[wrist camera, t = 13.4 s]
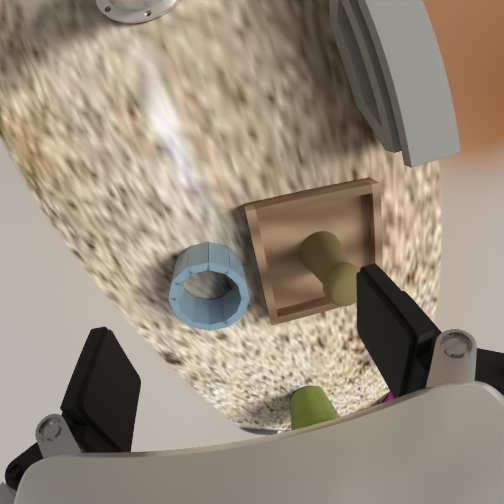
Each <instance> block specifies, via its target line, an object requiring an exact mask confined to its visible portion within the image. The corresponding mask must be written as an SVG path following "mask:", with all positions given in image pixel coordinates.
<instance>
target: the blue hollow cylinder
mask: <svg viewBox="0 0 504 504" xmlns="http://www.w3.org/2000/svg"><path fill="white" fill-rule="evenodd" d="M207 270H210V271H214V272H219V273H223V274H226V275H227V276H228V277H230V278H231V279H232V280H233V281H234V282H235V285H234V288H233V289H232V290H230V291H229V292H228V293H227V294H226V295H225V296H223V297H219V298H215V299H211V300H208V299H203V298H199V297H195V296H194V295H192V294H191V293H190V292H189V291H188V290H186V289H185V288H184V285H183V283H182V282H183V281H184V280H186V279H187V278H188V277H189V276H190V275H191V274H194V273H199V272H203V271H207ZM168 300H169V302H170V305H171V307H172V310H173V312H174V314H175V316H176V317H178V318H179V319H180V320H182V321H183V322H184V323H186V324H187V325H188V326H190V327H193V328H198V329H203V330H208V331H209V330H210V331H211V330H216V329H220V328H225V327H229V326H230V325H232V324H233V323H234V322H235V321H237V320H238V319H239V318H241V317H242V316H243V315H244V313H245V310H246V308H247V305H248V302H249V300H250V297H249V292H248V287H247V282H246V277H245V273H244V269H243V265H242V261H241V259H240V258H239V257H238V256H237V255H236V254H235V253H234V252H233V251H232V250H231V249H230V248H229V247H227V246H223V245H219V244H215V243H211V242H207V243H203V244H199V245H195V246H190V247H189V248H188V249H187V250H186V251H185V252H184V253H183V254H181V255H180V256H179V257H178V258H177V260H176V264H175V268H174V272H173V277H172V282H171V287H170V292H169V297H168Z"/></svg>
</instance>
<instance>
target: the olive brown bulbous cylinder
mask: <svg viewBox="0 0 504 504" xmlns="http://www.w3.org/2000/svg"><path fill="white" fill-rule="evenodd" d="M300 257H301V260H302V262H303V264H304V265H305V266H306V267H307V268H308V269H309V270H310V271H311V272H312V273H313V274H314V275H315V276H316V277H317V279H318V280H319V281H320V282H321V283H322V284H323V292H324V294H325V296H326V298H327V299H328V300H329V301H330V302H331V303H333V304H334V305H338V306H348V305H352V304H353V303H355V302H357V287H356V274H357V272H360V268H359V267H358V266H356V265H354V264H352V263H350V261H349V259H348V257H347V255H346V253H345V251H344V249H343V247H342V245H341V244H340V242H339V240H338V238H337V237H336V236H335V235H334V234H333V233H330V232H328V231H319V232H315V233H313V234H311V235H309V236H308V237H307V238H306V239H305V240H304V242H303V244H302V246H301V250H300Z"/></svg>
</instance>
